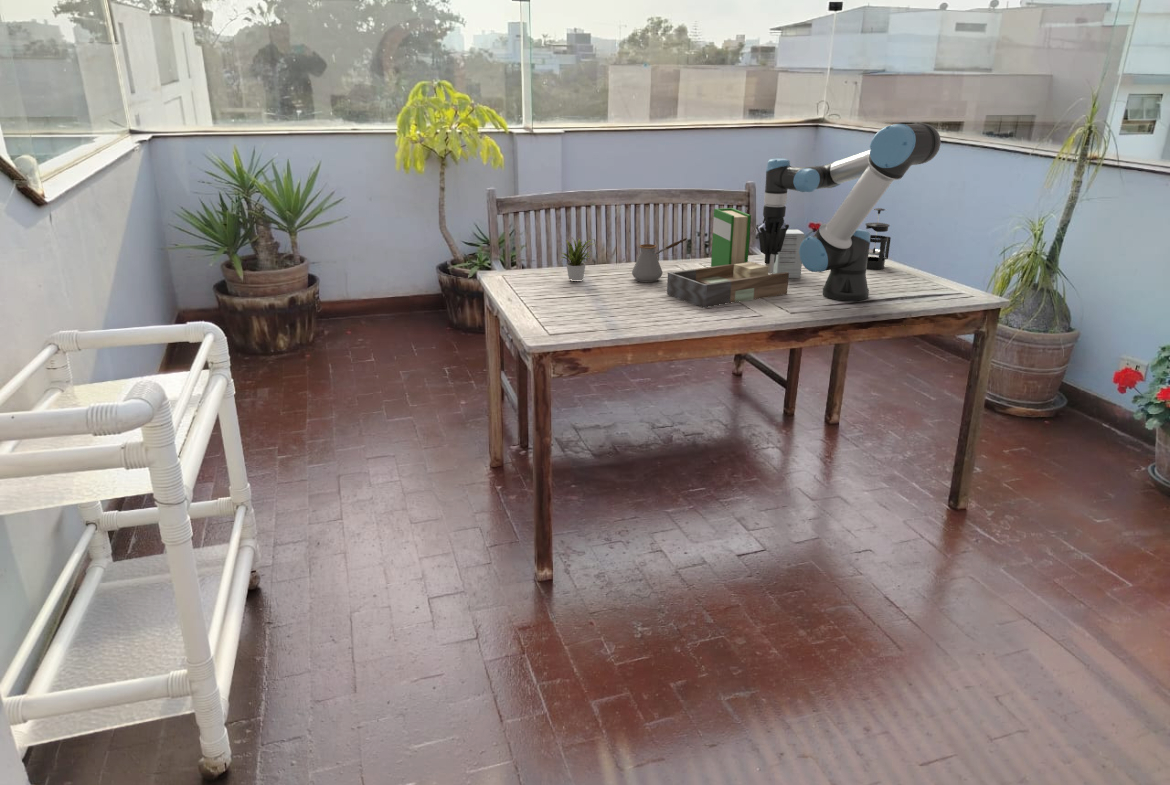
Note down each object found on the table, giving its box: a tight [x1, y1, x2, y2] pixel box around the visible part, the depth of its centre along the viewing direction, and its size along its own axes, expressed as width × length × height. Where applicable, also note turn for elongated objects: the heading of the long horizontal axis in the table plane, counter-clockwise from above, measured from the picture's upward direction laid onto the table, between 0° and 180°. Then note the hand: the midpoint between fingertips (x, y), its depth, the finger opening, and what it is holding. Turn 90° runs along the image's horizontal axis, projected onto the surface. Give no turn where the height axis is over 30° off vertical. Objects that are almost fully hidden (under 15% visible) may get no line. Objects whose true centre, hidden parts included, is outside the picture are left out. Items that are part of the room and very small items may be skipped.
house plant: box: [558, 236, 595, 280], centre depth 295 cm, size 14×14×16 cm
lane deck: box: [666, 262, 790, 308], centre depth 277 cm, size 21×36×8 cm, turn 119°
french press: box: [864, 207, 892, 271], centre depth 313 cm, size 12×9×23 cm
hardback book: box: [710, 207, 752, 267], centre depth 300 cm, size 18×7×24 cm, turn 12°
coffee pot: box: [631, 237, 689, 283], centre depth 297 cm, size 21×12×15 cm, turn 103°
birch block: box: [733, 261, 769, 279], centre depth 281 cm, size 9×8×5 cm
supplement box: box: [771, 229, 805, 279], centre depth 301 cm, size 10×9×17 cm
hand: (769, 272), depth 285 cm, fingers closed
